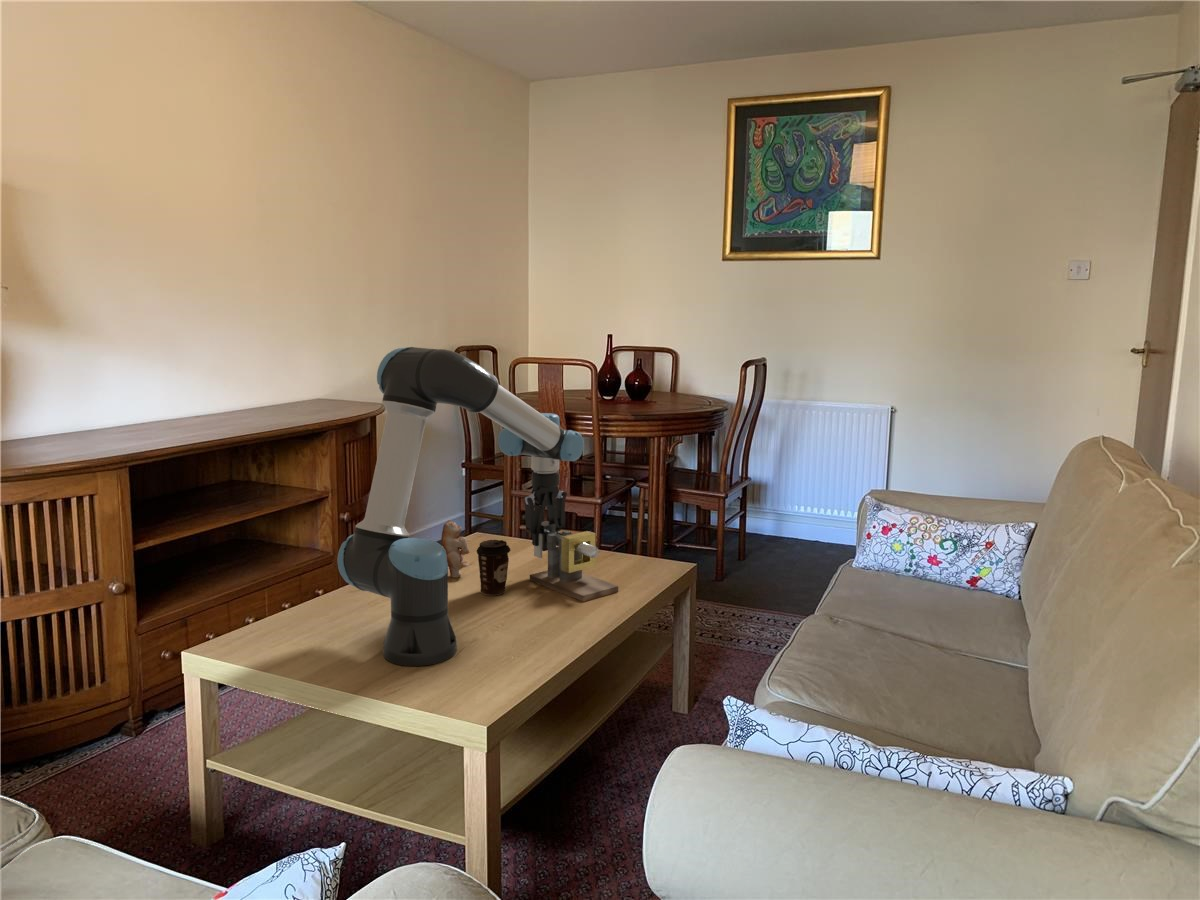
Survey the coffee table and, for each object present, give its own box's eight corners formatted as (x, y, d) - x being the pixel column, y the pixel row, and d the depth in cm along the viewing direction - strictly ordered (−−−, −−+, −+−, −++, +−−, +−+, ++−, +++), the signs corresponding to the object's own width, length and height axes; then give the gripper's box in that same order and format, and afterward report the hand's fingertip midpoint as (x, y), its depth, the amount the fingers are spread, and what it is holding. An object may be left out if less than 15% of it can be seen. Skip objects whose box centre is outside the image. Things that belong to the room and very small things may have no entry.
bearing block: (583, 601, 210) (583, 551, 208) (529, 580, 226) (529, 533, 224) (618, 591, 218) (619, 542, 216) (564, 571, 234) (564, 526, 232)
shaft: (587, 566, 213) (588, 540, 212) (534, 548, 230) (534, 523, 228) (599, 563, 216) (599, 537, 215) (546, 545, 232) (546, 520, 231)
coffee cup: (513, 587, 219) (513, 539, 217) (507, 598, 211) (507, 548, 209) (481, 586, 220) (480, 538, 218) (473, 596, 212) (472, 546, 210)
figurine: (467, 579, 226) (467, 524, 223) (439, 578, 226) (438, 524, 224) (471, 572, 232) (471, 519, 230) (444, 571, 232) (443, 518, 230)
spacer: (568, 573, 215) (569, 538, 214) (561, 570, 218) (561, 536, 216) (594, 566, 221) (595, 533, 220) (587, 563, 224) (587, 530, 222)
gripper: (528, 476, 218) (528, 564, 221) (578, 469, 229) (577, 552, 233) (511, 472, 223) (511, 557, 227) (561, 465, 234) (560, 546, 238)
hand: (545, 555), depth 230 cm, fingers closed on shaft, 4 cm apart
